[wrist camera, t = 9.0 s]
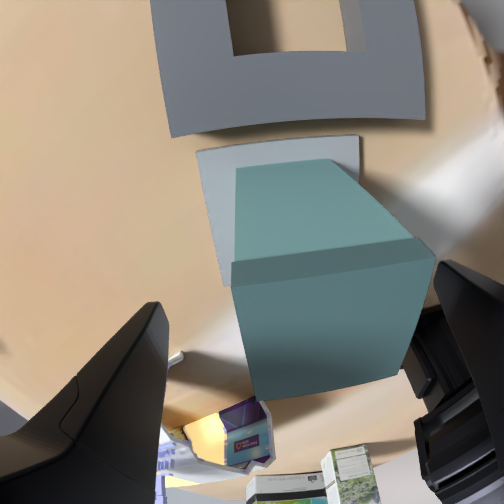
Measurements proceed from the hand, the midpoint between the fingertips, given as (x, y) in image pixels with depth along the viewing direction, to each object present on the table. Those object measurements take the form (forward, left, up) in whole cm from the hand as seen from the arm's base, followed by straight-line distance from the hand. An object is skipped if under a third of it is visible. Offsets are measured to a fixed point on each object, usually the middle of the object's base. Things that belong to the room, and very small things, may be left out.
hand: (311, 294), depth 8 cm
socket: (-1, -9, -6) cm, 11 cm away
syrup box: (-7, +38, -6) cm, 39 cm away
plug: (0, 0, -6) cm, 6 cm away
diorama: (+15, +20, -7) cm, 26 cm away
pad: (0, 0, -6) cm, 6 cm away
